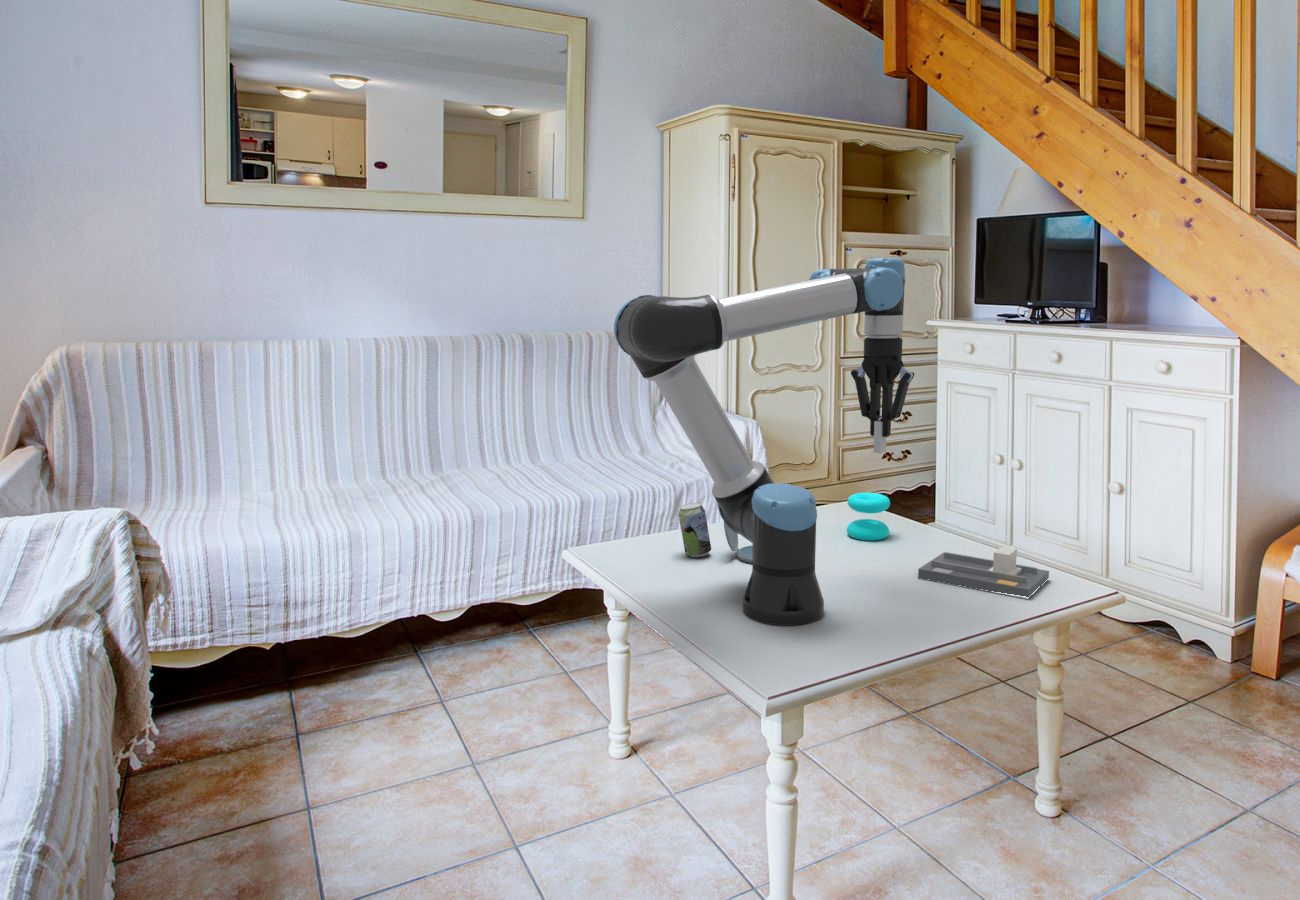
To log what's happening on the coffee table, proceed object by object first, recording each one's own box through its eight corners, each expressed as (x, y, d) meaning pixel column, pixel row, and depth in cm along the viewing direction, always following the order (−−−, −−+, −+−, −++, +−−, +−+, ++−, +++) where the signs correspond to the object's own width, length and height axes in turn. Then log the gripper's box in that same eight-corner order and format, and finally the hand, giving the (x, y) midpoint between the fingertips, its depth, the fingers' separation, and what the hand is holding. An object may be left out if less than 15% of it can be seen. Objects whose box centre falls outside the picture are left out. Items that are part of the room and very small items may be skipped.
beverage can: (711, 559, 202) (711, 507, 200) (679, 559, 202) (678, 508, 200) (710, 551, 208) (710, 500, 206) (678, 551, 208) (678, 501, 206)
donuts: (891, 492, 220) (889, 502, 210) (889, 532, 221) (888, 543, 212) (849, 490, 222) (845, 499, 213) (848, 529, 224) (844, 540, 215)
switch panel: (1028, 599, 174) (1029, 583, 173) (918, 578, 187) (918, 563, 186) (1048, 580, 184) (1049, 565, 184) (943, 561, 198) (943, 547, 197)
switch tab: (1012, 579, 179) (1013, 556, 178) (986, 575, 182) (988, 552, 181) (1021, 571, 183) (1022, 549, 183) (996, 567, 187) (997, 545, 186)
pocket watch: (729, 504, 207) (794, 507, 203) (729, 549, 209) (794, 554, 205) (720, 515, 198) (788, 519, 194) (720, 562, 200) (788, 567, 196)
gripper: (921, 336, 179) (917, 452, 184) (861, 334, 187) (858, 446, 192) (906, 338, 174) (902, 458, 178) (845, 336, 182) (842, 451, 186)
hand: (879, 451), depth 185 cm, fingers closed
